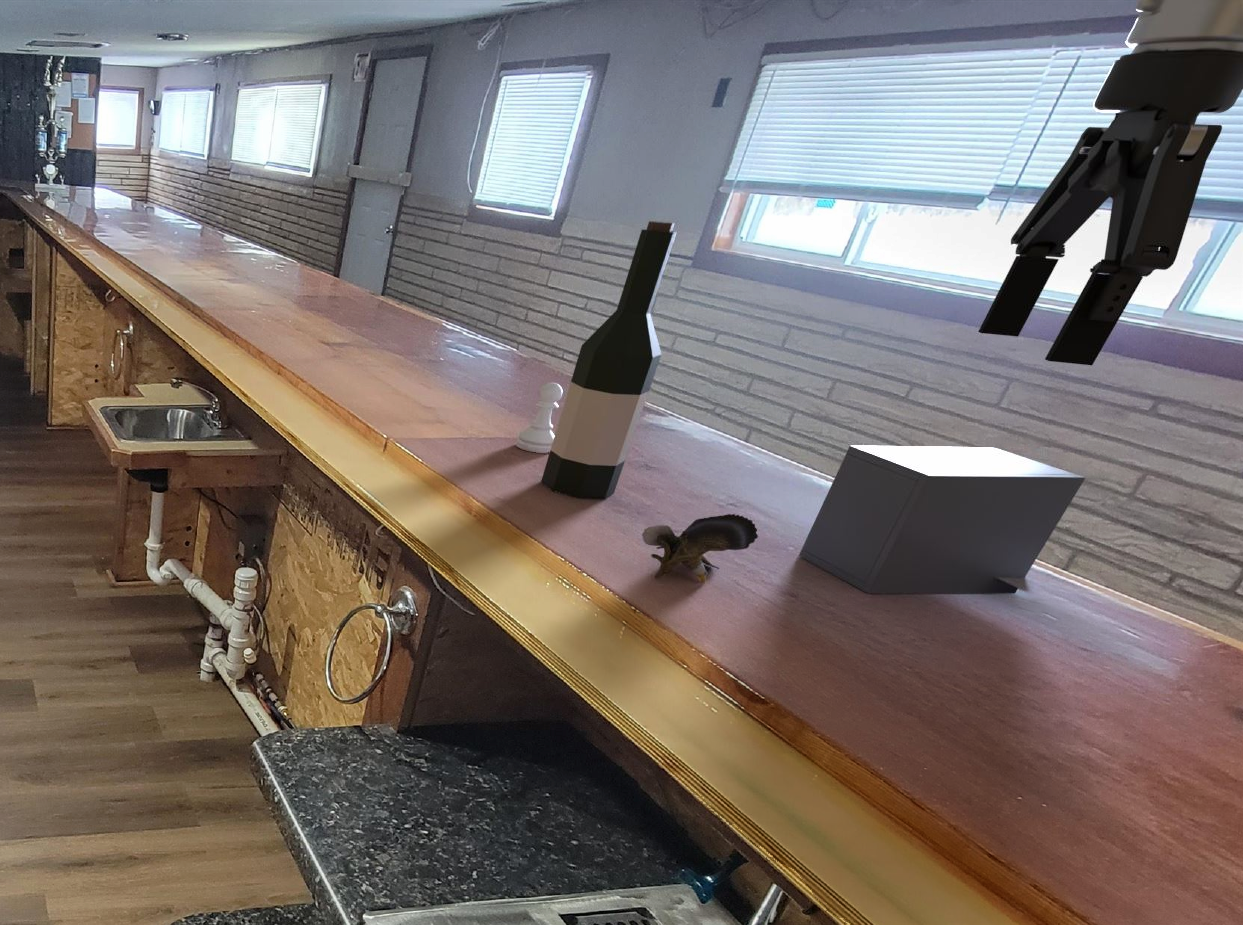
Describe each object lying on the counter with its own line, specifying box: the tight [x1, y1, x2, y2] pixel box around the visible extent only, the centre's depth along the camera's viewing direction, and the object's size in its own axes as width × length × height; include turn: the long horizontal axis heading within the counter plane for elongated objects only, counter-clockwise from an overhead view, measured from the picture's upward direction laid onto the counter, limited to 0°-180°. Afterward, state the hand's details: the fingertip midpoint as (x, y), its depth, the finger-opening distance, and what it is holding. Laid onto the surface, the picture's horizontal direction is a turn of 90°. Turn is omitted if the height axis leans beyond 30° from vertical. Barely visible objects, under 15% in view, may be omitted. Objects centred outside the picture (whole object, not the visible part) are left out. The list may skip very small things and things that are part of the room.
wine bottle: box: [540, 220, 678, 500], centre depth 105 cm, size 8×8×30 cm
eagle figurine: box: [641, 513, 759, 584], centre depth 89 cm, size 8×7×9 cm
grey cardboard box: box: [798, 445, 1086, 595], centre depth 90 cm, size 16×9×12 cm, turn 95°
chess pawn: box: [515, 382, 563, 454], centre depth 124 cm, size 5×5×9 cm
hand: (1030, 347), depth 77 cm, fingers open, 13 cm apart
